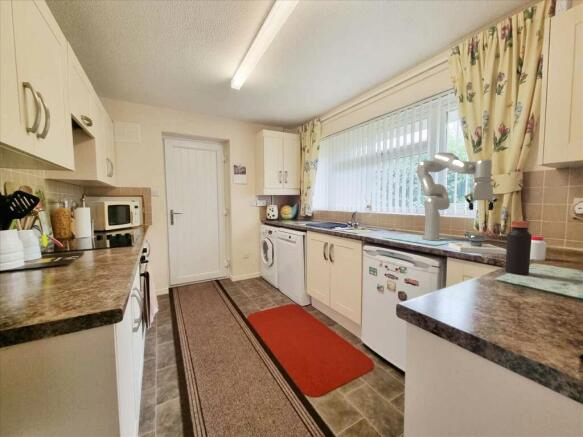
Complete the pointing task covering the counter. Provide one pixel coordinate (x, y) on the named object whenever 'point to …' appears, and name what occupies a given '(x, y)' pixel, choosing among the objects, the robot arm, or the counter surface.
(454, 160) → the robot arm
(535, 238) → the pill bottle
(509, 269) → the vinegar
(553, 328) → the counter surface
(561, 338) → the counter surface
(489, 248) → the plate
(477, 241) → the grey elongated shape
